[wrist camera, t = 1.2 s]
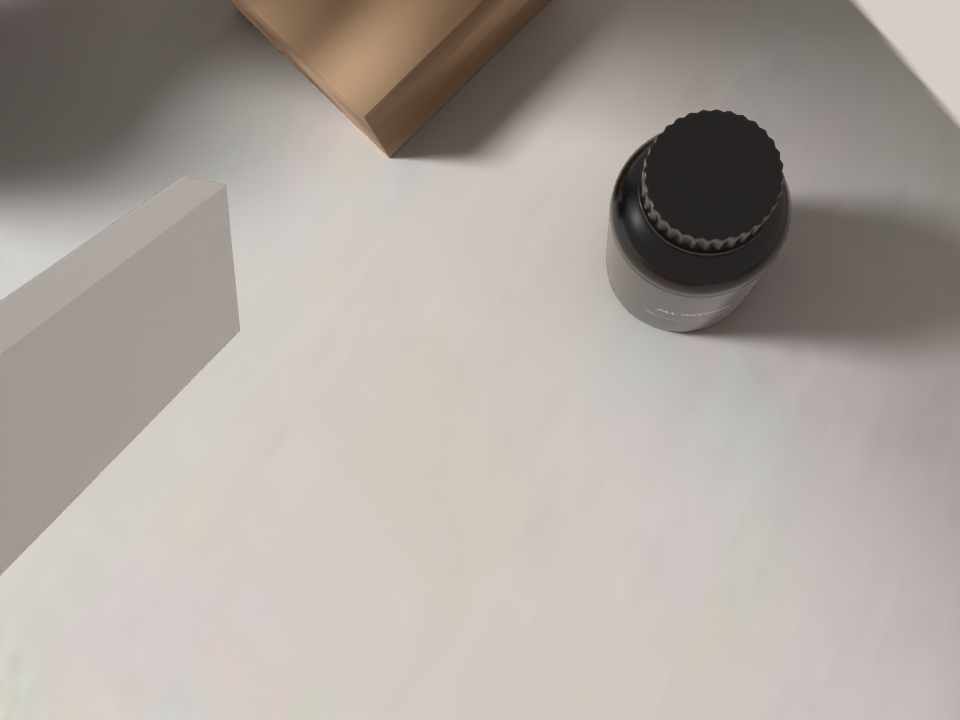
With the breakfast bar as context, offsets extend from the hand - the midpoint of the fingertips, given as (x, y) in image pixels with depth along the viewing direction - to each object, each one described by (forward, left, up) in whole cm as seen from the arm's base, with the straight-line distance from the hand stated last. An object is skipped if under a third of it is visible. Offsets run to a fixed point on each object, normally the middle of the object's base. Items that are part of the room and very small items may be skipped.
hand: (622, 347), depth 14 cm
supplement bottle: (-4, +9, -29) cm, 31 cm away
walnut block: (-24, +9, -29) cm, 38 cm away
